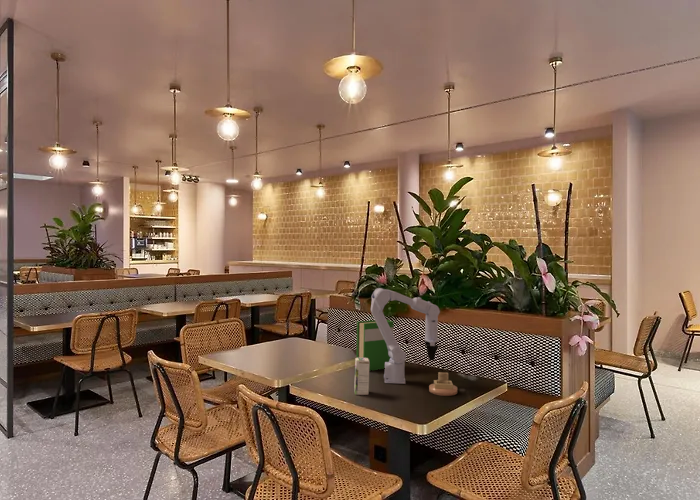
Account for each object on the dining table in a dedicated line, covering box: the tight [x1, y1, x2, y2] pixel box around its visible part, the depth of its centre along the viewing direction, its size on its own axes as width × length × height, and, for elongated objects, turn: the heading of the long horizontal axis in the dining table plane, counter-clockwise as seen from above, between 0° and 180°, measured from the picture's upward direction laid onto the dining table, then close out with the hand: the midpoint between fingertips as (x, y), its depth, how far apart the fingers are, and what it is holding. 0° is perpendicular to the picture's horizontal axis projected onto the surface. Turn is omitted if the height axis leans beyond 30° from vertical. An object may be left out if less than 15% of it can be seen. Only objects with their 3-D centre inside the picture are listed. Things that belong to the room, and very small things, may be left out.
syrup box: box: [353, 357, 370, 396], centre depth 202 cm, size 6×6×14 cm
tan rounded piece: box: [428, 379, 458, 397], centre depth 206 cm, size 12×12×4 cm
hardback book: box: [356, 319, 395, 372], centre depth 246 cm, size 18×7×24 cm, turn 120°
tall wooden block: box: [437, 371, 449, 384], centre depth 206 cm, size 4×2×6 cm, turn 85°
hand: (430, 358), depth 223 cm, fingers open, 7 cm apart
